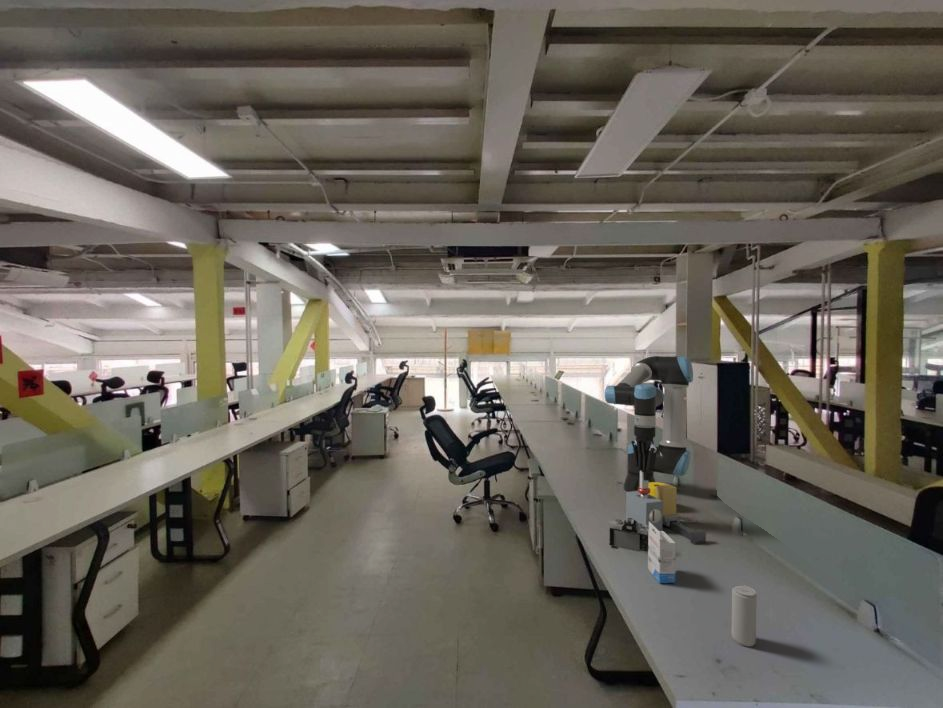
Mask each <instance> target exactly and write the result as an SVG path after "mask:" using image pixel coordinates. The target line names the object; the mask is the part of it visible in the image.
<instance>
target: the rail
mask: <svg viewBox="0 0 943 708" xmlns="http://www.w3.org/2000/svg"><path fill="white" fill-rule="evenodd" d="M662 525H664V524H663V523H662ZM664 526H666V525H664ZM666 527H667V528H669V529H670V530H672V531H674V532H675V533H677V534H679V535H681V536H683V537H685V538H686V539H688V540H690V544H692V545H698V544H705V543H707V531H706V530H704V529H696V530H692V529H691V528H689V527H687V526H685V525H684V524H682V523H680V522H679V523H678V522H677V521H670V526H666Z"/></svg>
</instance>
